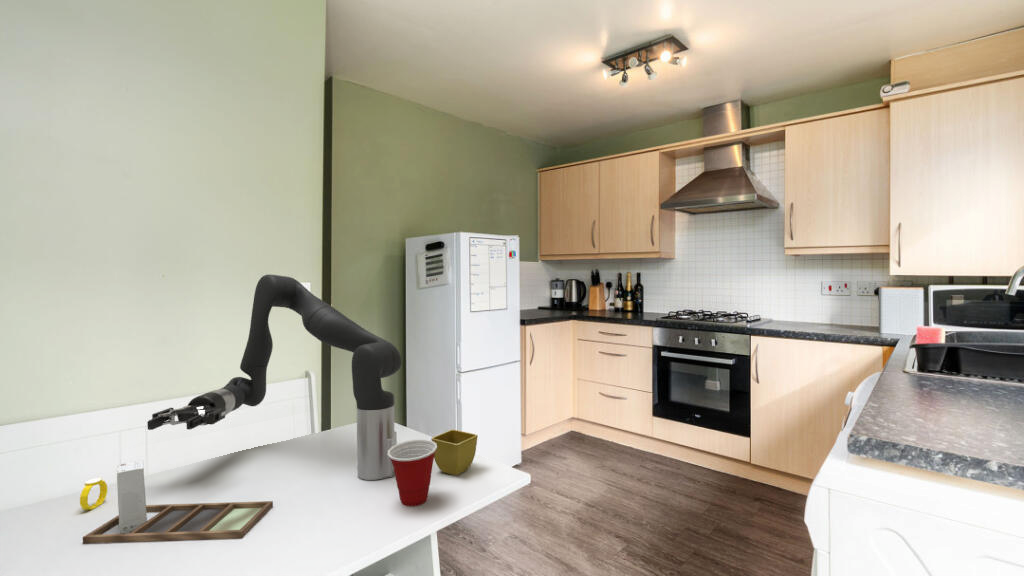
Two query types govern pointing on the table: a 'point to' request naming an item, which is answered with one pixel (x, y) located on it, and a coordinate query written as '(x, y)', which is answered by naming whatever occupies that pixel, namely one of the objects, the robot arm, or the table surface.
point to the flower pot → (455, 451)
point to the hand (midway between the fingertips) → (168, 425)
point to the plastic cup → (413, 469)
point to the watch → (86, 490)
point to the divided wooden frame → (188, 522)
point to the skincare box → (131, 496)
